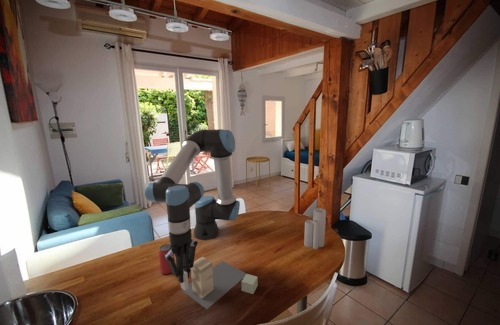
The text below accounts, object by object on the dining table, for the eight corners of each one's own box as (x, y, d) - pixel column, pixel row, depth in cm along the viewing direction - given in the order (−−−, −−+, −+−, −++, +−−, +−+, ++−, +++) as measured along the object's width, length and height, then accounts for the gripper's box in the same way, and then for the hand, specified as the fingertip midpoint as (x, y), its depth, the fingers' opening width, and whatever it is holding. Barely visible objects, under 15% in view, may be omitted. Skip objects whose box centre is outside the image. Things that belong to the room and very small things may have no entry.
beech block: (192, 292, 92) (190, 263, 90) (204, 283, 97) (202, 256, 94) (202, 299, 89) (200, 269, 86) (213, 290, 93) (212, 261, 91)
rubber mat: (181, 290, 94) (180, 289, 94) (222, 262, 112) (222, 260, 112) (206, 310, 84) (206, 309, 84) (247, 275, 103) (247, 274, 102)
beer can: (178, 267, 109) (176, 244, 106) (169, 276, 103) (166, 252, 100) (166, 264, 111) (164, 242, 109) (157, 273, 105) (154, 249, 102)
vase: (318, 239, 132) (320, 207, 128) (327, 246, 125) (329, 212, 121) (302, 243, 127) (303, 210, 124) (310, 250, 121) (311, 215, 117)
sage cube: (241, 292, 93) (241, 281, 92) (246, 283, 98) (246, 273, 97) (253, 295, 91) (252, 284, 90) (257, 287, 96) (257, 276, 95)
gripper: (169, 240, 73) (175, 303, 78) (201, 225, 83) (204, 282, 88) (157, 233, 78) (163, 293, 82) (188, 220, 88) (192, 274, 92)
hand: (184, 287), depth 85 cm, fingers closed
